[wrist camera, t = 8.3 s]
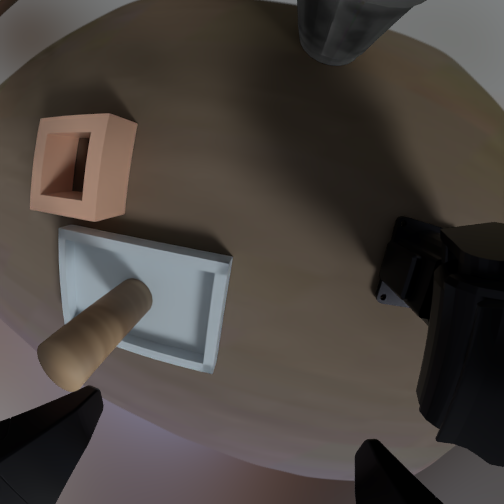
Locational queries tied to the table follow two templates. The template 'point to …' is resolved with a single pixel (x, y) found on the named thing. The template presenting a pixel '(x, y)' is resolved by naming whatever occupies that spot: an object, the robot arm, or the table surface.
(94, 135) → the holder
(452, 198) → the table surface
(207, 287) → the tray
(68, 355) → the dowel
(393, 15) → the beverage cup
